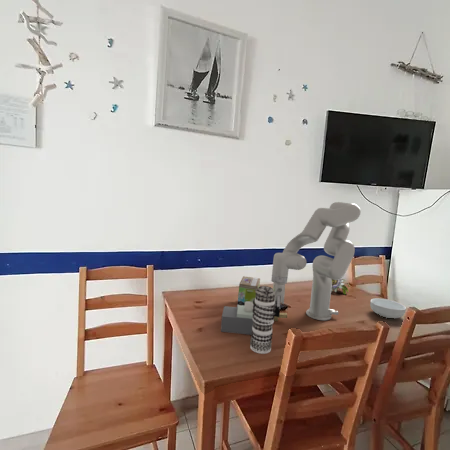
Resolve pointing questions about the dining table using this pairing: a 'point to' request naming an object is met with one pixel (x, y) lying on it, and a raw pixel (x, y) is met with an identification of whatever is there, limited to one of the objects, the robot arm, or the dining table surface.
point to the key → (280, 316)
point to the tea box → (247, 290)
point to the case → (235, 322)
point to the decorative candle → (263, 320)
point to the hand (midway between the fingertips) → (275, 314)
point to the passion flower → (339, 285)
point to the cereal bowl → (387, 308)
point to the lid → (245, 310)
